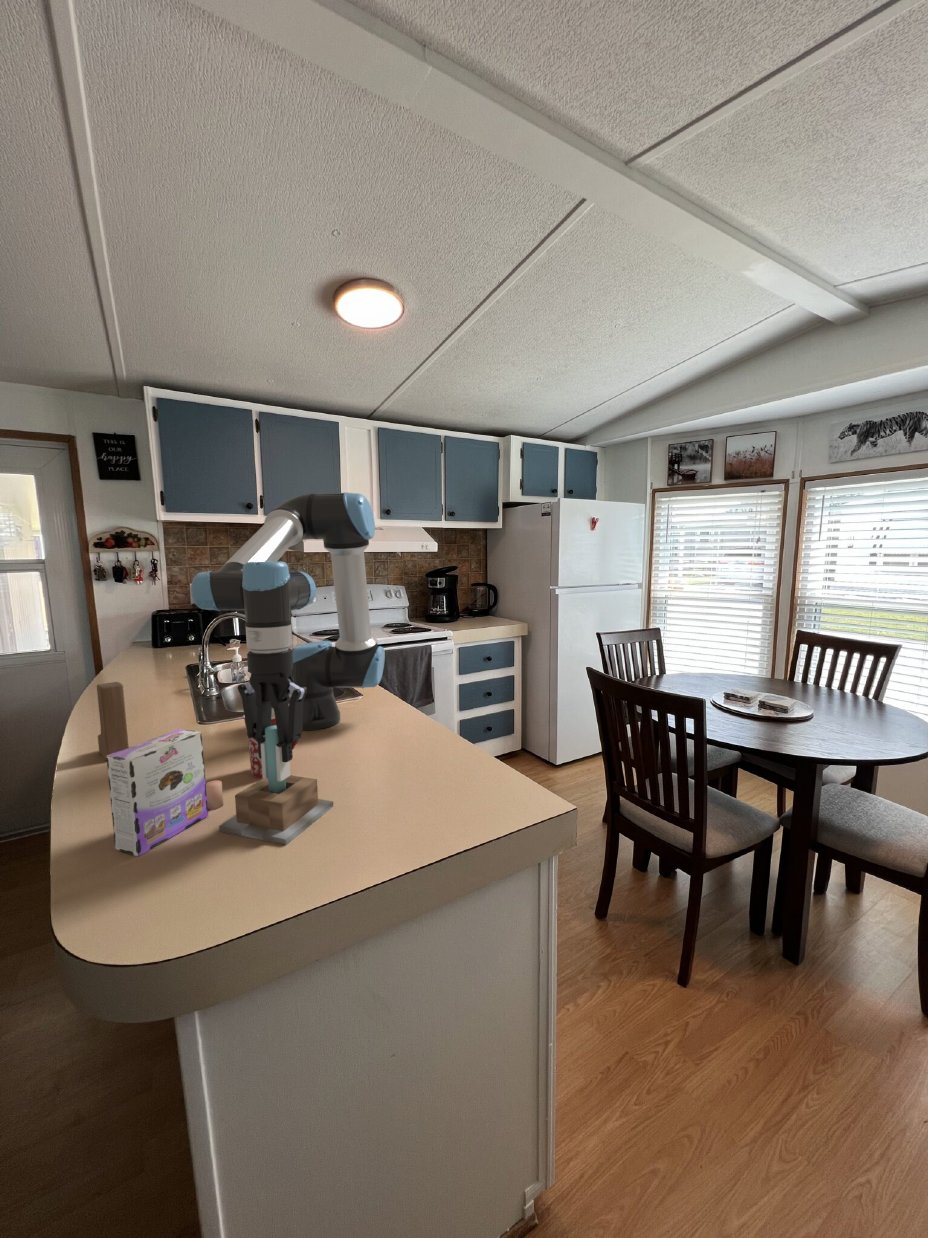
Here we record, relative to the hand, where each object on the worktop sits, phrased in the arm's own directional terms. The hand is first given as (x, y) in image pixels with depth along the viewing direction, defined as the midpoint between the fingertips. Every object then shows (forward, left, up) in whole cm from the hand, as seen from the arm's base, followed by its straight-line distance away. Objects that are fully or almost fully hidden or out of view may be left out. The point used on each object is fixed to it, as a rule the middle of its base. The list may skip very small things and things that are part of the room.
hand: (276, 776), depth 93 cm
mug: (-18, -15, -8) cm, 25 cm away
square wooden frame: (0, 0, -8) cm, 8 cm away
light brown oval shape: (0, -15, -8) cm, 17 cm away
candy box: (+10, -16, -8) cm, 21 cm away
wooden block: (-13, -59, -8) cm, 61 cm away
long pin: (0, 0, -5) cm, 5 cm away
